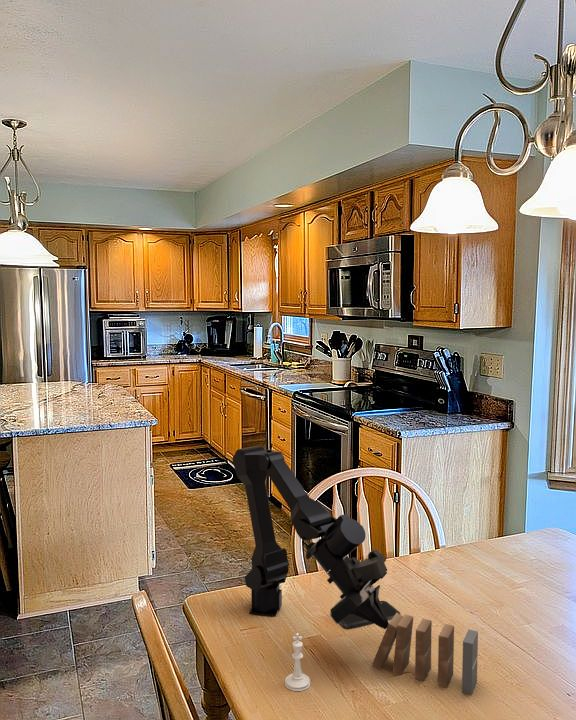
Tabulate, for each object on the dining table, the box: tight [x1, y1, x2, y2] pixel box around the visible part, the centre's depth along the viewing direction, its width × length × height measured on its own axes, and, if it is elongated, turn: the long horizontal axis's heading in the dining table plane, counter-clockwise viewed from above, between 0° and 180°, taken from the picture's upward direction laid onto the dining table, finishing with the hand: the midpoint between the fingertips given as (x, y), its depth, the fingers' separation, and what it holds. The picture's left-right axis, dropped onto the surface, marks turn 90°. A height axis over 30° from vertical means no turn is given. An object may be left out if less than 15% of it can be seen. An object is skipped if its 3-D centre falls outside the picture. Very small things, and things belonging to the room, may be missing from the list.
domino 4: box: [437, 623, 455, 689], centre depth 120 cm, size 2×5×10 cm, turn 152°
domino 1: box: [371, 613, 404, 670], centre depth 125 cm, size 2×5×10 cm, turn 152°
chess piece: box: [284, 632, 311, 692], centre depth 119 cm, size 5×5×10 cm
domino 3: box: [414, 618, 433, 682], centre depth 122 cm, size 2×5×10 cm, turn 152°
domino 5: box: [461, 629, 479, 696], centre depth 118 cm, size 2×5×10 cm, turn 152°
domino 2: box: [392, 613, 414, 676], centre depth 124 cm, size 2×5×10 cm, turn 152°
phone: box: [338, 600, 401, 630], centre depth 145 cm, size 8×1×15 cm
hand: (387, 627), depth 125 cm, fingers closed
